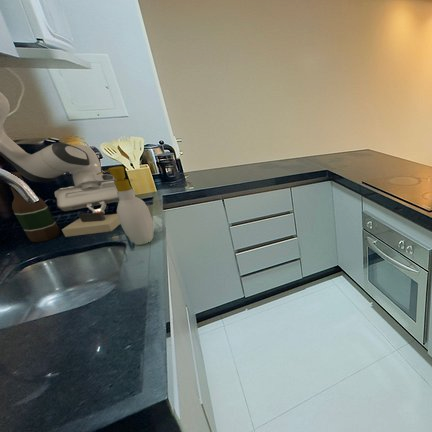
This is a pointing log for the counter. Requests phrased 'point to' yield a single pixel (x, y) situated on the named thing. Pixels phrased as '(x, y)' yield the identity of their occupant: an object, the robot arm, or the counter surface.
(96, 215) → the dark brown bar
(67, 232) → the beige flat block
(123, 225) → the soap bottle
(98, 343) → the counter surface
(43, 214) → the beer bottle
